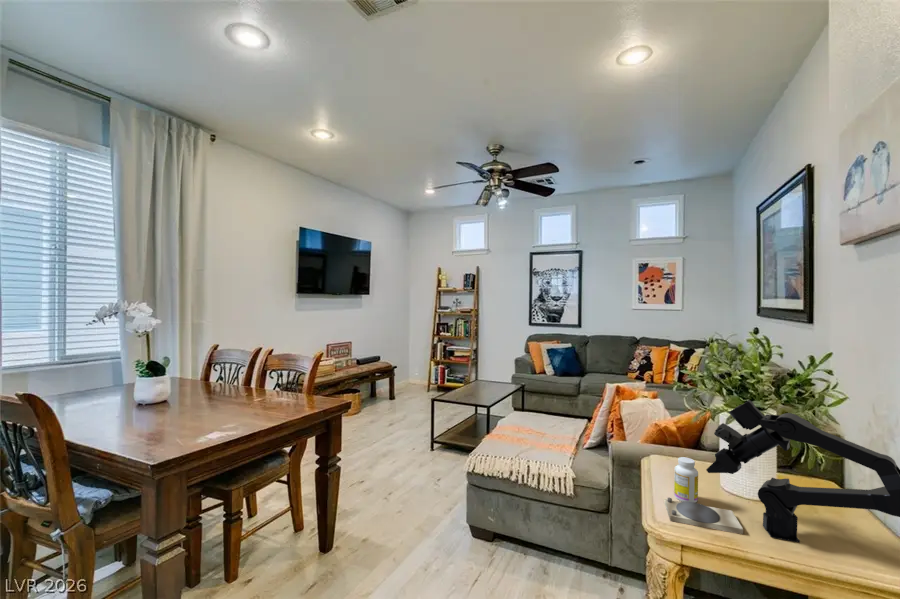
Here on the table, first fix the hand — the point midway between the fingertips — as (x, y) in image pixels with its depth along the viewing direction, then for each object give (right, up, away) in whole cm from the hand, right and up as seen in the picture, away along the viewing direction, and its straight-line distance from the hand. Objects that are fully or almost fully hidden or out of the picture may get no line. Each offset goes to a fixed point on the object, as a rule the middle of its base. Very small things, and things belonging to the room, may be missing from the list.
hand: (712, 467), depth 124 cm
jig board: (-7, -13, -5) cm, 16 cm away
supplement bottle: (-5, -13, +6) cm, 15 cm away
